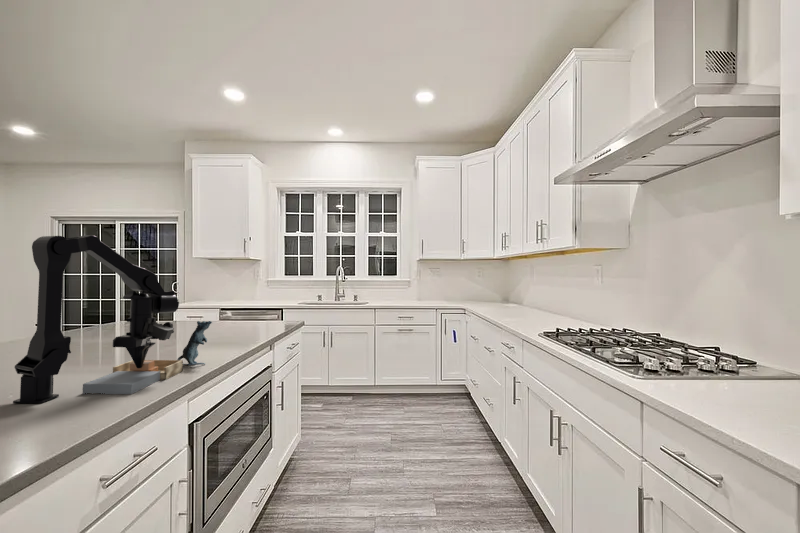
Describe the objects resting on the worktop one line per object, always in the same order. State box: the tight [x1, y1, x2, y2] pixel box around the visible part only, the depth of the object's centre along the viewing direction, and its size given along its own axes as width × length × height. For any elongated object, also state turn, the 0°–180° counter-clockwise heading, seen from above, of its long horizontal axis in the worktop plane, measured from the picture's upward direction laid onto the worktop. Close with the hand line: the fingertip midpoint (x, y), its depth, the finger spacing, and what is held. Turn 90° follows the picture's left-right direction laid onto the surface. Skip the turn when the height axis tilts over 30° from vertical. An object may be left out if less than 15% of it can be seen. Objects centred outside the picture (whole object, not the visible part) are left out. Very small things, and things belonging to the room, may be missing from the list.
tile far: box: [144, 366, 158, 371], centre depth 136 cm, size 5×5×2 cm
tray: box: [112, 359, 184, 381], centre depth 138 cm, size 12×15×4 cm
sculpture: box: [176, 320, 213, 367], centre depth 156 cm, size 8×11×15 cm
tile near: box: [130, 359, 156, 371], centre depth 135 cm, size 5×5×2 cm
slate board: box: [82, 371, 160, 395], centre depth 124 cm, size 16×12×2 cm
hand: (139, 368), depth 132 cm, fingers closed
